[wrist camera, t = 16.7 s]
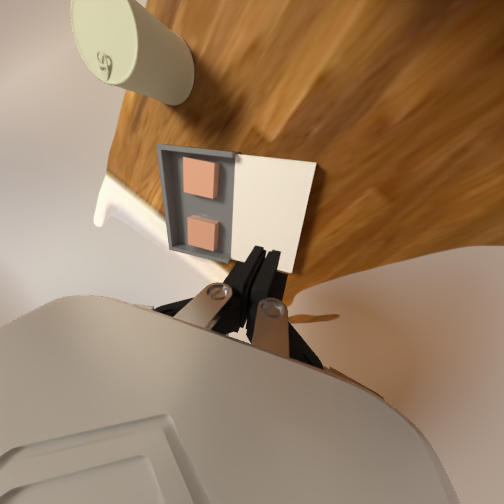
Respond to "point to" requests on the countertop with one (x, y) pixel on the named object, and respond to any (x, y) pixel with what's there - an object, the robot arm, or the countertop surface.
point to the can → (132, 49)
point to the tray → (196, 199)
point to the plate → (269, 206)
